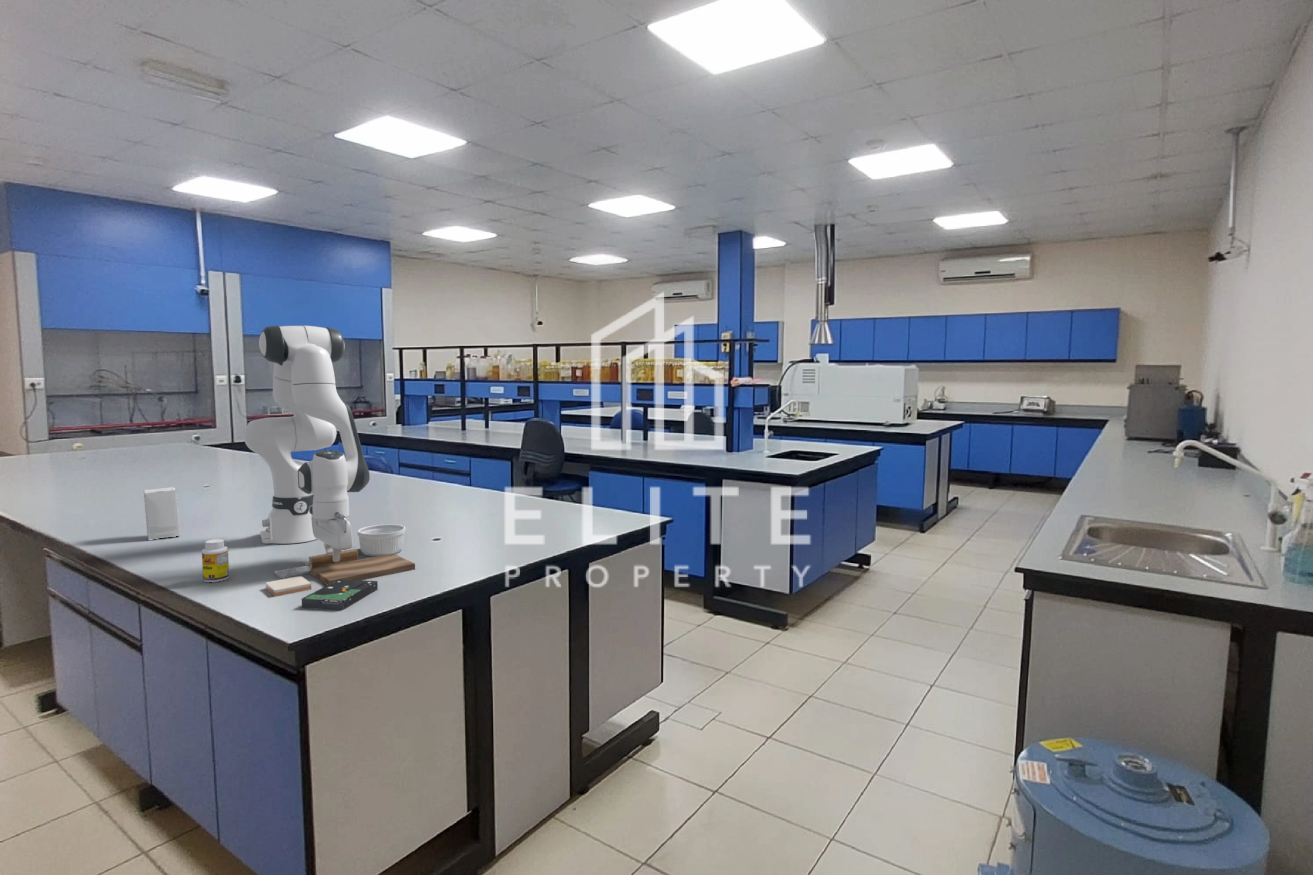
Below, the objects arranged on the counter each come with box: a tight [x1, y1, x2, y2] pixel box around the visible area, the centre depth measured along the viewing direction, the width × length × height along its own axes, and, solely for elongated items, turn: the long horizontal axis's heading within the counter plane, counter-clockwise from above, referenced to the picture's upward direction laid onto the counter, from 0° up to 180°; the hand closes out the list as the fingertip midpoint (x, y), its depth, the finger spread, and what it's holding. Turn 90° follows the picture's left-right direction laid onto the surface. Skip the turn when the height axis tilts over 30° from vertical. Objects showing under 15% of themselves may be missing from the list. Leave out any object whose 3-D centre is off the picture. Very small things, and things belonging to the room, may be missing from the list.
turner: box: [274, 548, 359, 580], centre depth 179 cm, size 20×6×3 cm, turn 134°
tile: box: [265, 575, 312, 597], centre depth 163 cm, size 2×8×8 cm
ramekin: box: [357, 523, 406, 557], centre depth 198 cm, size 13×13×7 cm
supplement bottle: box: [201, 538, 230, 583], centre depth 169 cm, size 6×6×10 cm
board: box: [310, 553, 416, 586], centre depth 177 cm, size 14×22×2 cm, turn 135°
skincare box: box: [143, 486, 181, 540], centre depth 211 cm, size 8×7×16 cm
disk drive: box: [301, 579, 379, 611], centre depth 156 cm, size 10×3×15 cm
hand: (333, 559), depth 182 cm, fingers closed on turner, 2 cm apart
